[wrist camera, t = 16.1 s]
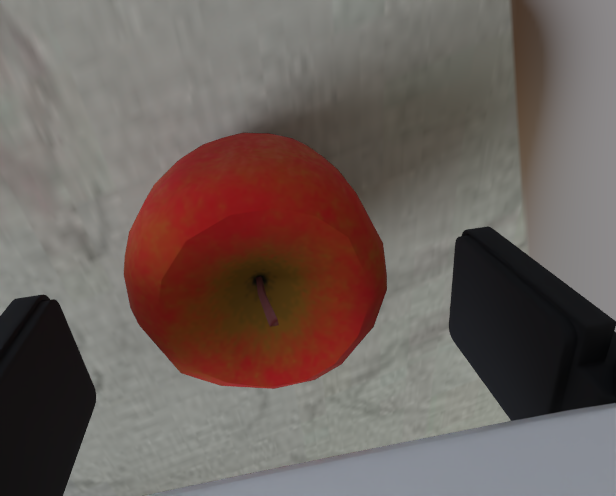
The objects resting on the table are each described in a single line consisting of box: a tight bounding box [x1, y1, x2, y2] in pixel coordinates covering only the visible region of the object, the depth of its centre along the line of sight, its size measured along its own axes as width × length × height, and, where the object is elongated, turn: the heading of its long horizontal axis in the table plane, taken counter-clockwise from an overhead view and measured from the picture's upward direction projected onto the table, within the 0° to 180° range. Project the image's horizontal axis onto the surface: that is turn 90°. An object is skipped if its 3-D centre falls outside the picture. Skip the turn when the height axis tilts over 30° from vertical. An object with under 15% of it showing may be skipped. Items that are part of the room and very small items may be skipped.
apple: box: [124, 133, 387, 389], centre depth 12 cm, size 6×6×8 cm
